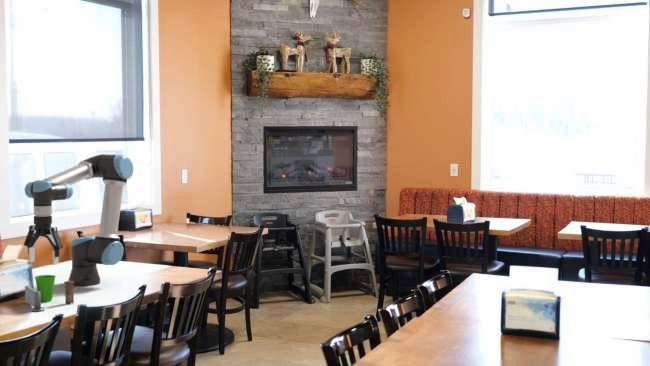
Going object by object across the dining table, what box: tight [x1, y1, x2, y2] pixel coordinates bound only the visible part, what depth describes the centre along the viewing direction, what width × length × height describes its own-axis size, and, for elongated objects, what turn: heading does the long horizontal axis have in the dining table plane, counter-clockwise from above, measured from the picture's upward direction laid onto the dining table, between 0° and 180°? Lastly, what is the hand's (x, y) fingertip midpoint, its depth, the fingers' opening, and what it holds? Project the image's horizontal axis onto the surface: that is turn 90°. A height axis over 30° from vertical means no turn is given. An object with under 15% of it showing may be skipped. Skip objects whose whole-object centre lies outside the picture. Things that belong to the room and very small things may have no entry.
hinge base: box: [30, 307, 45, 313], centre depth 326 cm, size 5×5×1 cm
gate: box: [24, 285, 42, 309], centre depth 331 cm, size 17×2×7 cm, turn 36°
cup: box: [33, 274, 57, 303], centre depth 343 cm, size 9×9×11 cm
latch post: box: [63, 280, 75, 305], centre depth 339 cm, size 3×3×10 cm
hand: (43, 263), depth 341 cm, fingers open, 13 cm apart
